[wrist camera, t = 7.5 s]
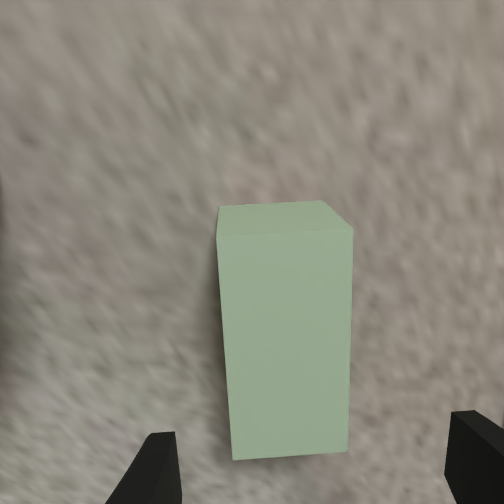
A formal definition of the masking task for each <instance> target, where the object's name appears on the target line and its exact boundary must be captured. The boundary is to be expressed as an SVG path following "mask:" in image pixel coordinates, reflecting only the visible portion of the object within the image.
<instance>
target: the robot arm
mask: <svg viewBox="0 0 504 504" xmlns="http://www.w3.org/2000/svg"><path fill="white" fill-rule="evenodd" d="M444 475H445V478H446V480H447V482H448V485H449V487H450V489H451V492H452V494H453V496H454V498H455V501H456V503H457V504H504V429H502V428H501V427H499V426H498V425H497V424H495V423H494V422H492V421H491V420H489V419H488V418H486V417H484V416H483V415H481V414H480V413H478V412H476V411H475V410H471V411H457V412H451V420H450V429H449V437H448V446H447V454H446V463H445V471H444ZM105 504H182V489H181V480H180V472H179V463H178V454H177V446H176V437H175V432H161V433H151V434H150V435H149V436H148V437H147V438H146V440H145V442H144V443H143V445H142V447H141V449H140V450H139V452H138V454H137V455H136V457H135V459H134V460H133V462H132V464H131V465H130V467H129V468H128V470H127V471H126V473H125V475H124V476H123V478H122V479H121V481H120V482H119V484H118V485H117V487H116V488H115V490H114V491H113V493H112V494H111V496H110V497H109V498H108V500H107V501H106V503H105Z"/></svg>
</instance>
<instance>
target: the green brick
mask: <svg viewBox="0 0 504 504" xmlns="http://www.w3.org/2000/svg"><path fill="white" fill-rule="evenodd" d="M216 243H217V256H218V270H219V283H220V297H221V310H222V324H223V337H224V351H225V364H226V378H227V391H228V404H229V418H230V431H231V445H232V458H233V460H245V459H258V458H271V457H284V456H297V455H310V454H324V453H337V452H348V422H349V383H350V343H351V304H352V264H353V228H352V227H351V226H350V225H349V224H348V223H347V222H346V221H344V220H343V219H342V218H341V217H340V216H339V215H338V214H337V213H336V212H335V211H334V210H333V209H332V208H331V207H330V206H328V205H327V204H326V203H325V202H324V201H323V200H322V201H304V202H287V203H269V204H251V205H234V206H219V212H218V222H217V232H216Z"/></svg>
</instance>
